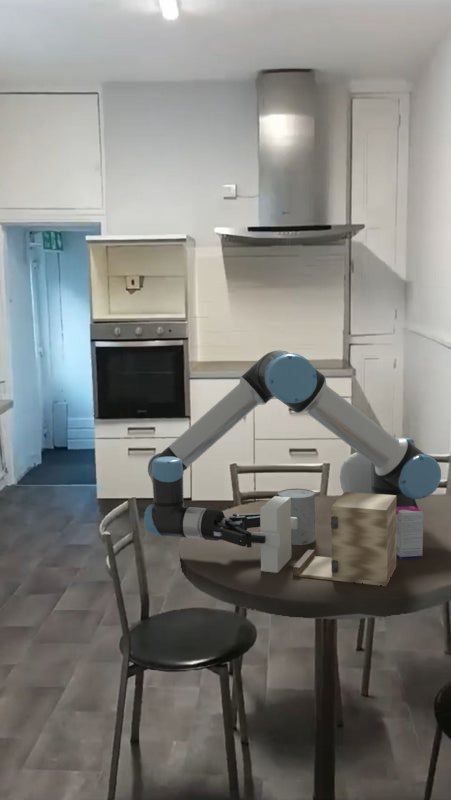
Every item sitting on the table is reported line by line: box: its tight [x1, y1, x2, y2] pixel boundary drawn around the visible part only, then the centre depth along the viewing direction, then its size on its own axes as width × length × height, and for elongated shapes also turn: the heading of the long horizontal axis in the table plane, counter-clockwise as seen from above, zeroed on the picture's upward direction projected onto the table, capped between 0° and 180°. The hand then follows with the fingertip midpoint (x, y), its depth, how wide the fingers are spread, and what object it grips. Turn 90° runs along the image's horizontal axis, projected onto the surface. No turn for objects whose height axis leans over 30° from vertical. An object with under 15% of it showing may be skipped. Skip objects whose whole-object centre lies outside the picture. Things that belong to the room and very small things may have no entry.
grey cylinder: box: [277, 488, 316, 546], centre depth 209 cm, size 10×10×12 cm
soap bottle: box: [339, 417, 371, 494], centre depth 241 cm, size 14×9×26 cm, turn 70°
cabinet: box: [292, 492, 397, 587], centre depth 183 cm, size 21×14×17 cm
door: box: [257, 495, 292, 573], centre depth 190 cm, size 5×11×15 cm, turn 159°
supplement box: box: [396, 506, 424, 560], centre depth 195 cm, size 6×6×12 cm
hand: (289, 531), depth 189 cm, fingers open, 13 cm apart
